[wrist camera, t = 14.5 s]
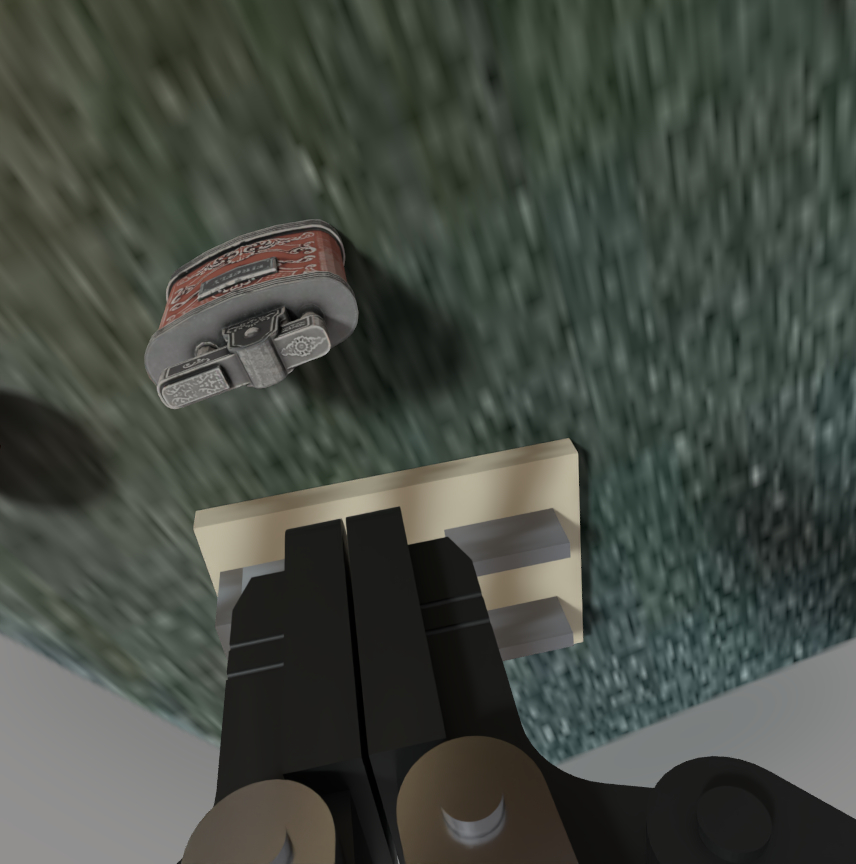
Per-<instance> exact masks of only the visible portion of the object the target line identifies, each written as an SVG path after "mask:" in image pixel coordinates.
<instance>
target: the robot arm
mask: <svg viewBox="0 0 856 864" xmlns="http://www.w3.org/2000/svg"><path fill="white" fill-rule="evenodd" d="M346 530H347V533H346ZM346 530H345V526H344V523H343V520H342V518H340V519H335V520H331V521H326V522H321V523H316V524H311V525H306V526H301V527H296V528H291V529H287V530H286V531H285V562H284V571H280V572H275V573H270V574H265V575H261V576H256V577H251V579H250V581H249V582H248V584H247V586H246V587H245V589H244V591H243V593H242V594H241V596H240V598H239V599H238V601H237V603H236V605H235V606H234V608H233V610H232V620H231V631H230V643H229V645H230V651H229V654H228V666H227V675H228V680H226V688H225V700H224V711H223V723H222V734H221V745H220V757H219V768H218V780H217V792H216V797H215V803H214V806H213V808H212V809H211V810H210V811H209V812H208V813H207V814H206V815H205V816H204V818H203V819H202V820H201V821H200V822H199V824H198V825H197V827H196V828H195V830H194V832H193V833H192V835H191V837H190V839H189V841H188V843H187V846H186V848H185V851H184V855H183V858H182V859H181V860H180V861H179V862H178V863H177V864H398V860H397V856H398V859H399V863H400V864H856V819H854V818H852V817H850V816H849V815H847V814H845V813H843V812H842V811H840V810H838V809H836V808H834V807H833V806H831V805H829V804H827V803H825V802H823V801H822V800H820V799H818V798H817V797H815V796H813V795H811V794H809V793H808V792H806V791H804V790H802V789H800V788H799V787H797V786H795V785H793V784H791V783H790V782H788V781H786V780H784V779H782V778H780V777H779V776H777V775H775V774H774V773H772V772H770V771H768V770H766V769H764V768H762V767H760V766H758V765H756V764H752V763H750V762H746V761H743V760H740V759H735V758H730V757H718V756H711V757H702V758H696V759H693V760H689V761H686V762H684V763H682V764H680V765H677V766H675V767H674V768H673V769H672V770H670V771H669V772H667V773H666V774H665V775H664V776H663V777H662V778H661V779H660V781H659V782H658V783H657V785H656V786H655V788H647V787H637V786H626V785H615V784H605V783H599V782H593V781H588V780H585V779H581V778H578V777H575V776H572V775H571V774H568V773H566V772H564V771H562V770H560V769H559V768H557V767H556V766H554V765H552V764H551V763H550V762H548V761H547V760H546V759H545V758H544V757H543V756H541V755H540V754H539V752H538V751H537V750H536V749H535V748H534V747H533V745H532V744H531V743H530V741H529V739H528V738H527V736H526V734H525V732H524V729H523V727H522V724H521V721H520V718H519V715H518V711H517V708H516V705H515V701H514V698H513V695H512V691H511V688H510V685H509V681H508V678H507V675H506V671H505V668H504V665H503V661H502V658H501V655H500V651H499V648H498V645H497V641H496V638H495V635H494V631H493V628H492V625H491V623H490V619H489V615H488V611H487V608H486V605H485V601H484V598H483V596H482V592H481V588H480V585H479V581H478V578H477V575H476V571H475V568H474V565H473V561H472V559H471V558H470V557H469V556H468V555H467V554H466V553H465V552H463V551H462V550H461V549H460V548H459V547H458V546H457V545H456V544H455V543H454V542H453V541H452V540H451V539H450V538H449V537H443V538H439V539H434V540H429V541H424V542H419V543H414V544H409V545H408V543H407V538H406V533H405V528H404V523H403V518H402V513H401V508H400V506H398V507H393V508H388V509H383V510H378V511H374V512H369V513H364V514H359V515H354V516H349V517H346Z"/></svg>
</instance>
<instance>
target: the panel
mask: <svg viewBox="0 0 856 864" xmlns="http://www.w3.org/2000/svg"><path fill="white" fill-rule="evenodd" d="M398 506H400V508H401V513H402V518H403V523H404V528H405V533H406V538H407V543H408V545H409V544H414V543H419V542H424V541H429V540H434V539H439V538H443V537H449V538H450V539H451V540H452V541H453V542H454V543H455V544H456V545H457V546H458V547H459V548H460V549H461V550H462V551H463V552H465V553H466V554H467V555H468V556H469V557H470V558H471V559H472V561H473V565H474V568H475V571H476V575H477V578H478V581H479V585H480V588H481V592H482V596H483V598H484V601H485V605H486V608H487V611H488V615H489V619H490V623H491V625H492V628H493V631H494V635H495V638H496V641H497V645H498V648H499V651H500V655H501V658H502V661H505V660H510V659H514V658H519V657H524V656H528V655H533V654H538V653H542V652H547V651H551V650H556V649H561V648H565V647H570V646H574V644H575V643H580V642H583V619H582V582H581V544H580V507H579V469H578V452H577V450H576V449H575V447H574V445H573V444H572V442H571V440H570V439H569V438H567V439H562V440H557V441H552V442H547V443H541V444H536V445H531V446H526V447H521V448H516V449H511V450H506V451H501V452H495V453H490V454H485V455H480V456H475V457H470V458H465V459H460V460H455V461H449V462H444V463H439V464H434V465H429V466H424V467H419V468H414V469H409V470H403V471H398V472H393V473H388V474H383V475H378V476H373V477H368V478H362V479H357V480H352V481H347V482H342V483H337V484H332V485H327V486H322V487H316V488H311V489H306V490H301V491H296V492H291V493H286V494H281V495H276V496H270V497H265V498H260V499H255V500H250V501H245V502H240V503H235V504H230V505H224V506H219V507H214V508H209V509H204V510H199V511H196V514H195V521H194V528H193V529H194V532H195V535H196V537H197V540H198V543H199V546H200V549H201V551H202V554H203V557H204V560H205V563H206V565H207V568H208V571H209V574H210V577H211V579H212V582H213V585H214V588H215V591H216V593H217V596H218V601H217V611H216V622H215V628H216V631H217V633H218V636H219V639H220V641H221V644H222V647H223V649H224V652H225V655H226V658H227V660H228V654H229V651H230V645H229V643H230V631H231V620H232V610H233V608H234V606H235V605H236V603H237V601H238V599H239V598H240V596H241V594H242V593H243V591H244V589H245V587H246V586H247V584H248V582H249V581H250V579H251V577H256V576H261V575H265V574H270V573H275V572H280V571H284V562H285V531H286V530H287V529H291V528H296V527H301V526H306V525H311V524H316V523H321V522H326V521H331V520H335V519H340V518H342V520H343V523H344V526H345V530H346V517H349V516H354V515H359V514H364V513H369V512H374V511H378V510H383V509H388V508H393V507H398ZM346 533H347V530H346Z"/></svg>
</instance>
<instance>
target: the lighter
mask: <svg viewBox="0 0 856 864" xmlns="http://www.w3.org/2000/svg"><path fill="white" fill-rule="evenodd" d="M344 264H345V252H344V247H343V243H342V239H341V237H340V236H339V234H338V232H337V230H335V229H334V228H333V227H332V226H331V225H330V224H329V223H326V222H324V221H322V220H313V219H311V220H305V221H299V222H293V223H287V224H281V225H275V226H272V227H268V228H265V229H262V230H258V231H255V232H251V233H248V234H244V235H241V236H239V237H236V238H234V239H232V240H230V241H228V242H225V243H223V244H221V245H219V246H217V247H214V248H212V249H210V250H208V251H206V252H204V253H203V254H201V255H200V256H198V257H196V258H195V259H193V260H191V261H190V262H188V263H187V264H185V265H183V266H182V267H180V268H179V269H177V270H176V271H175V272H174V273H173V274H172V276H171V278H170V281H169V284H168V287H167V290H166V300H167V305H166V308H165V311H164V314H163V317H162V320H161V323H160V327H159V330H158V331H157V332H156V333H155V334H154V335H153V336H152V337H151V339H150V341H149V344H148V346H147V349H146V352H145V368H146V370H147V373H148V375H149V377H150V379H151V380H152V381H153V382H154V384H155V385H156V386H157V392H158V394H159V397H160V398H161V400H162V402H163V403H164V404H165V405H166V406H167V407H169V408H172V409H178V408H182V407H185V406H188V405H191V404H193V403H196V402H199V401H202V400H204V399H207V398H210V397H212V396H215V395H218V394H221V393H223V392H226V391H229V390H232V389H235V388H238V387H241V386H245V385H247V386H248V387H255V388H258V389H259V388H265V387H268V386H271V385H274V384H276V383H278V382H280V381H282V380H283V379H284V378H285V377H286V376H287V375H288V374H289V373H290V372H292V371H293V370H294V368H295V367H297V366H299V365H301V364H303V363H306V362H308V361H311V360H313V359H316V358H319V357H321V356H323V355H325V354H327V353H328V351H329V350H330V349H331V348H332V347H334V346H336V345H337V344H339V343H341V342H343V341H344V340H346V339H347V338H348V337H349V336H350V335H351V334H352V333H353V331H354V329H355V327H356V325H357V321H358V313H359V312H358V308H357V303H356V299H355V295H354V292H353V291H352V289H351V287H350V286H349V284H348V283H347V279H346V275H345V270H344Z"/></svg>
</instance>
